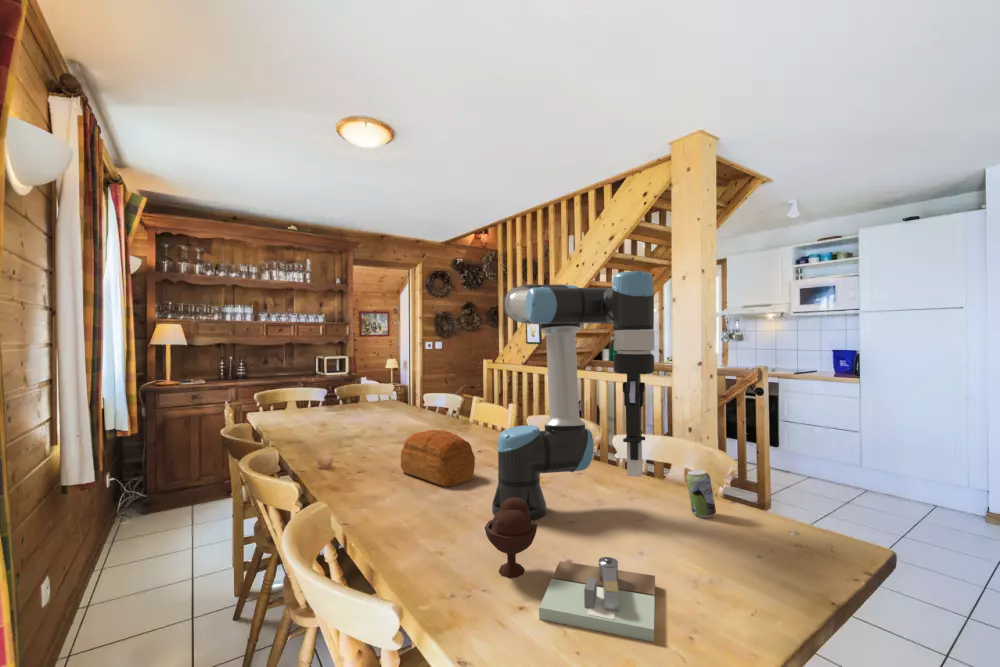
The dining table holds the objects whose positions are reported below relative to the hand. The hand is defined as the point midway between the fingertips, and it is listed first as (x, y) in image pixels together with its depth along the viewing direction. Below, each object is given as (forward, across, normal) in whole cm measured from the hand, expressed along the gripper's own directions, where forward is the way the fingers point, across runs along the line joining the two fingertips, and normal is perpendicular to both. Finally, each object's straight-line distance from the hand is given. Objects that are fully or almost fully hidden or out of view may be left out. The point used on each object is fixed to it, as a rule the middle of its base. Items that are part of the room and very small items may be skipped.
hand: (634, 475), depth 89 cm
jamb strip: (+22, 0, -6) cm, 23 cm away
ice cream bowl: (+23, 0, -25) cm, 34 cm away
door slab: (+22, +9, -6) cm, 25 cm away
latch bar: (+20, +5, -4) cm, 21 cm away
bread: (+23, -55, -70) cm, 92 cm away
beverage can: (+23, -45, +15) cm, 53 cm away
